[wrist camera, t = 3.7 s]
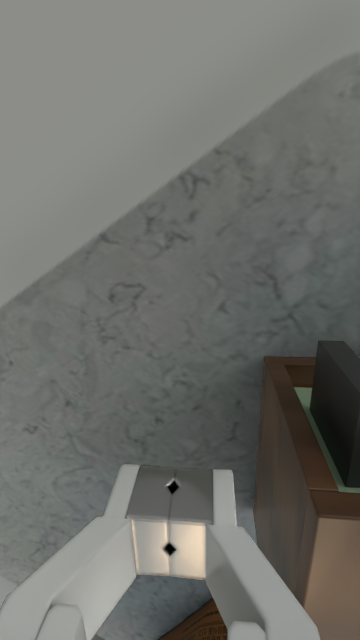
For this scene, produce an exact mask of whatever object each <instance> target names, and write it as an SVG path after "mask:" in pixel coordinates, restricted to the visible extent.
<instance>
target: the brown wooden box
mask: <svg viewBox="0 0 360 640" xmlns="http://www.w3.org/2000/svg"><path fill="white" fill-rule="evenodd" d="M315 363H316V358H306V357H264V370H263V384H262V398H261V411H260V425H259V439H258V452H257V466H256V480H255V494H254V507H253V514H254V522H255V529H256V537H257V545H258V548H259V549H260V550H261V552H262V553H263V554H264V556H265V557H266V559H267V560H268V561H269V563H270V564H271V565H272V567H273V568H274V569H275V571H276V572H277V573H278V575H279V576H280V578H281V579H282V580H283V582H284V583H285V584H286V586H287V587H288V588H289V590H290V591H291V592H292V594H293V595H294V596H295V598H296V599H297V601H298V602H299V603H300V605H301V606H302V607H303V609H304V610H305V611H306V613H307V614H308V615H309V617H310V618H311V619H312V621H313V622H314V624H315V625H316V626H317V628H318V632H319V636H320V640H360V493H349V492H339V489H338V487H337V484H336V482H335V480H334V478H333V475H332V473H331V471H330V468H329V466H328V464H327V462H326V459H325V457H324V455H323V452H322V450H321V448H320V446H319V443H318V441H317V439H316V437H315V434H314V432H313V430H312V427H311V425H310V423H309V421H308V418H307V416H306V414H305V411H304V409H303V407H302V405H301V402H300V400H299V398H298V395H297V393H296V391H295V389H294V387H303V388H312V385H313V378H314V370H315Z"/></svg>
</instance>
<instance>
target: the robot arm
mask: <svg viewBox="0 0 360 640" xmlns="http://www.w3.org/2000/svg"><path fill="white" fill-rule="evenodd" d="M136 574H138V575H157V576H173V577H181V578H189V579H198V580H206V584H207V586H208V588H209V590H210V592H211V595H212V597H213V599H214V601H215V603H216V606H217V608H218V610H219V612H220V614H221V616H222V619H223V621H224V623H225V625H226V627H227V629H228V634H227V640H320V636H319V632H318V628H317V626H316V625H315V624H314V622H313V621H312V619H311V618H310V617H309V615H308V614H307V613H306V611H305V610H304V609H303V607H302V606H301V605H300V603H299V602H298V601H297V599H296V598H295V596H294V595H293V594H292V592H291V591H290V590H289V588H288V587H287V586H286V584H285V583H284V582H283V580H282V579H281V578H280V576H279V575H278V573H277V572H276V571H275V569H274V568H273V567H272V565H271V564H270V563H269V561H268V560H267V559H266V557H265V556H264V554H263V553H262V552H261V550H260V549H259V548H258V546H257V545H256V544H255V542H254V541H253V540H252V538H251V537H250V536H249V534H248V533H247V531H246V530H245V529H244V527H238V526H237V519H236V506H235V494H234V481H233V472H232V470H225V469H213V470H212V469H199V468H173V467H161V466H149V465H131V464H123V465H122V466H121V467H120V469H119V472H118V474H117V477H116V480H115V483H114V486H113V488H112V491H111V494H110V497H109V500H108V502H107V505H106V508H105V511H104V514H103V516H102V517H96V518H94V519H93V520H92V521H91V522H90V523H89V524H88V525H87V526H85V527H84V528H83V529H82V530H81V531H80V532H79V533H77V534H76V535H75V536H74V537H73V538H72V539H71V540H70V541H68V542H67V543H66V544H65V545H64V546H63V547H62V548H60V549H59V550H58V551H57V552H56V553H55V554H54V555H53V556H51V557H50V558H49V559H48V560H47V561H46V562H45V563H43V564H42V565H41V566H40V567H39V568H38V569H37V570H35V571H34V572H33V573H32V574H31V575H30V576H29V577H28V578H26V579H25V580H24V581H23V582H22V583H21V584H20V585H18V586H17V587H16V588H15V589H14V590H13V591H12V592H11V593H9V594H8V595H7V597H6V599H5V600H4V602H3V604H2V606H1V608H0V640H91V639H92V638H93V636H94V635H95V634H96V632H97V631H98V630H99V628H100V627H101V626H102V624H103V623H104V621H105V620H106V619H107V617H108V616H109V614H110V613H111V612H112V610H113V609H114V607H115V606H116V605H117V603H118V602H119V601H120V599H121V598H122V596H123V595H124V594H125V592H126V591H127V589H128V588H129V587H130V585H131V584H132V582H133V581H134V580H135V578H136Z"/></svg>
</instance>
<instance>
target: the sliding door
mask: <svg viewBox="0 0 360 640" xmlns="http://www.w3.org/2000/svg"><path fill="white" fill-rule="evenodd" d="M294 389H295V391H296V393H297V395H298V398H299V400H300V402H301V405H302V407H303V409H304V411H305V414H306V416H307V418H308V421H309V423H310V425H311V427H312V430H313V432H314V434H315V437H316V439H317V441H318V443H319V446H320V448H321V450H322V452H323V455H324V457H325V459H326V462H327V464H328V466H329V468H330V471H331V473H332V475H333V478H334V480H335V482H336V484H337V487H338V489H339V492H349V493H360V358H359V357H358V356H357V355H356V354H355V353H354V352H353V351H352V349H351V348H350V347H349V346H348V345H347V344H346V343H345V342H344V341H318V348H317V355H316V363H315V370H314V378H313V385H312V388H303V387H294Z"/></svg>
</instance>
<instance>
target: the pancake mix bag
mask: <svg viewBox="0 0 360 640" xmlns="http://www.w3.org/2000/svg"><path fill="white" fill-rule="evenodd" d="M227 634H228V629H227V627H226V625H225V623H224V621H223V619H222V616H221V614H220V612H219V610H218V608H217V606H216V603H215V601H214V599H213V598H212V599H211V600H210V601H208V602H207V603H206V604H205V605H203V606H202V607H201V608H200V609H198V610H197V611H196V612H194V613H193V614H192V615H190V616H189V617H188V618H187V619H186V620H184V621H183V622H182V623H181V624H180V625H178V626H177V627H176V628H175V629H173V630H172V631H171V632H169V633H168V634H166V635H165V636H163V637H162V638H160V639H159V640H227Z"/></svg>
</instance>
